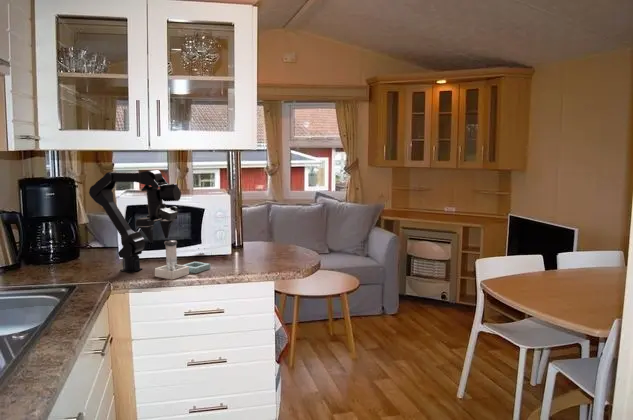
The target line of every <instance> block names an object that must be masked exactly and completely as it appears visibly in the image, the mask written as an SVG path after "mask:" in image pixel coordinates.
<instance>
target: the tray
mask: <svg viewBox="0 0 633 420" xmlns="http://www.w3.org/2000/svg"><path fill="white" fill-rule="evenodd" d="M154 275H155V277H156V278H162V279H167V280H176V279H178V278H182V277H184V276H187V275H190V272H189V266H184V264H178V263H177V270H174V271H169V270H167V265H163V266H159V267H155V268H154Z"/></svg>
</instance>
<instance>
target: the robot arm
mask: <svg viewBox="0 0 633 420" xmlns="http://www.w3.org/2000/svg"><path fill="white" fill-rule="evenodd" d="M117 182H119V183H120V182H121V183H124V182H125V183H139V184H141V185H144V186H143V187H142V188H141V189H140V191H141V192H146V199H147V204H146V205H145V209H148V214H147V215H146V217H141V218H137V219H136V220H135V227H138V228H139V229H140V230H141V231H142V233H144V235H145V237H146V238H147V239H148V242H149V243H150V244H151V243H154V231H153V230H154V229H155V226H156V225H154V224H155V223H156V222H159V223H160V226H161V230H162V233H163V236H164V239H168V238H169V234H170V231H171V226H172V224H173V223H174V222H176V220H177V219H178V215H179V209H178V207H177V206H176V205H175V206H171V207H167V204H166V203H164V202H178V201H180V200H181V197H182V192H181V190H180V187H178V183H170V184H169V183H168V181H166V178H164V176H163V174H162V172H161V171H160V170H158V169H153V170H145V171H141V172H140V171H139V172H128V171H127V172H126V171H125V172H123V171H121V172H119V171H118V172H117V171H109V172H106V173H105V174H104V175H103V177H100V179H99V180H97V181H96V182H94V184H92V185H91V186H90V188H89V191H88V194H89V196H90V197H91V199H92V200H93V201H94V202H95V203H96V204H98V205H99V206H101V207H102V208H103V210H104V211H105V213H106V214H107V216H108V218H109V219H110V221H111V222H112V225H113V226H114V227H115V230H117V232H118V234H119V235H120V239H121V240H120V241H121V245H122V248H121V249H120V250H119V251H118V252H117V254H118V257H119V258H121V259H122V268H121V269H119V271H120V272H125V273H130V274H131V273H134V272H139V271H142V270H143V269H144V268H143V267H141V262H140V261H141V260H140V255H142V253H143V250H144V249H145V246H146V242H145V238H144V237H143V236H142V233H141V232H140V231H134V230H133V229H132V228H131V226H130V224H129V223H128V222H127V220H126V218H125V217H124V215H123V214H122V212H121V210H120V209H119V207H118V205H117V204H116V202H115V200H114V199H115V198H114V192H113V190H114V189H115V187H116V184H117Z"/></svg>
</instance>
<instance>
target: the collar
mask: <svg viewBox="0 0 633 420" xmlns="http://www.w3.org/2000/svg"><path fill="white" fill-rule="evenodd" d="M183 265H184V266H189V273H192V274H197V273H200V272H201V273H202V272H204V271H208V270H210V269H211V263H207V262H201V261H192V262H189V263H185V264H183Z"/></svg>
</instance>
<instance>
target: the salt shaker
mask: <svg viewBox="0 0 633 420" xmlns="http://www.w3.org/2000/svg"><path fill="white" fill-rule="evenodd" d="M163 243H164V245H165V258H166V259H165V260H166V261H165V262H166V265H167V270H169V271H174V270H177V264H178V260H177V259H178V256H177V253H178V252H177V245H178V241H177V240H176V239H175V240H174V239H173V240H170V239H169V240H165V241H164V242H163Z"/></svg>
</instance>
